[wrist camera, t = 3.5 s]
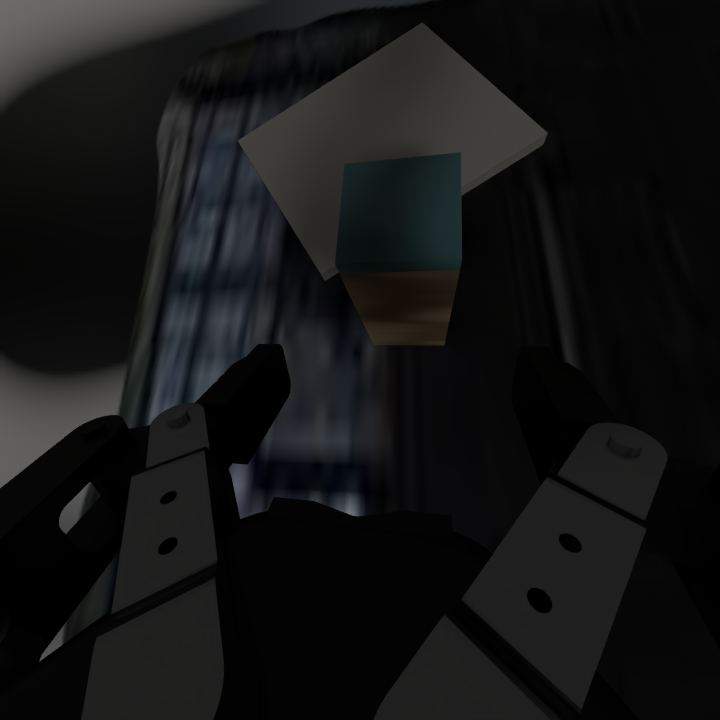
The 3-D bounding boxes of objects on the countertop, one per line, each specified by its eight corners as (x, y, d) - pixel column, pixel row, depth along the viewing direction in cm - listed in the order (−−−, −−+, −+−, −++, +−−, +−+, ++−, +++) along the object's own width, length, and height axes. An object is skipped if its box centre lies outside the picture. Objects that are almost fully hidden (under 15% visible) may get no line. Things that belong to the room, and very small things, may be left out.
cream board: (422, 35, 31) (422, 22, 30) (542, 144, 25) (547, 133, 24) (243, 150, 31) (237, 140, 30) (325, 280, 26) (321, 274, 25)
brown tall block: (444, 280, 24) (460, 152, 14) (444, 345, 23) (462, 258, 12) (377, 282, 25) (344, 163, 15) (373, 344, 24) (334, 264, 13)
